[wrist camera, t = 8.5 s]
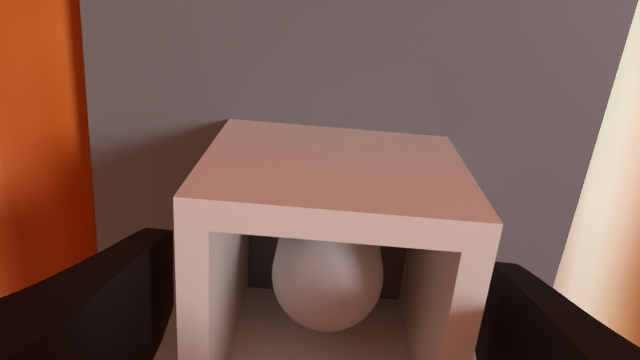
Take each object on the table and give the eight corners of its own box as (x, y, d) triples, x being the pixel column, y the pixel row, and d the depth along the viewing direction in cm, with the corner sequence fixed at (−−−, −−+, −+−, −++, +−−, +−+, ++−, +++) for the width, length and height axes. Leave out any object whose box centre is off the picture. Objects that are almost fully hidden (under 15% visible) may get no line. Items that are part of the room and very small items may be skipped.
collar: (447, 136, 14) (502, 223, 9) (416, 318, 16) (448, 464, 11) (229, 119, 14) (173, 197, 9) (227, 302, 16) (180, 442, 11)
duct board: (657, -114, 12) (817, -155, 8) (489, 467, 19) (530, 604, 15) (79, -172, 12) (-51, -242, 8) (118, 432, 19) (58, 559, 15)
